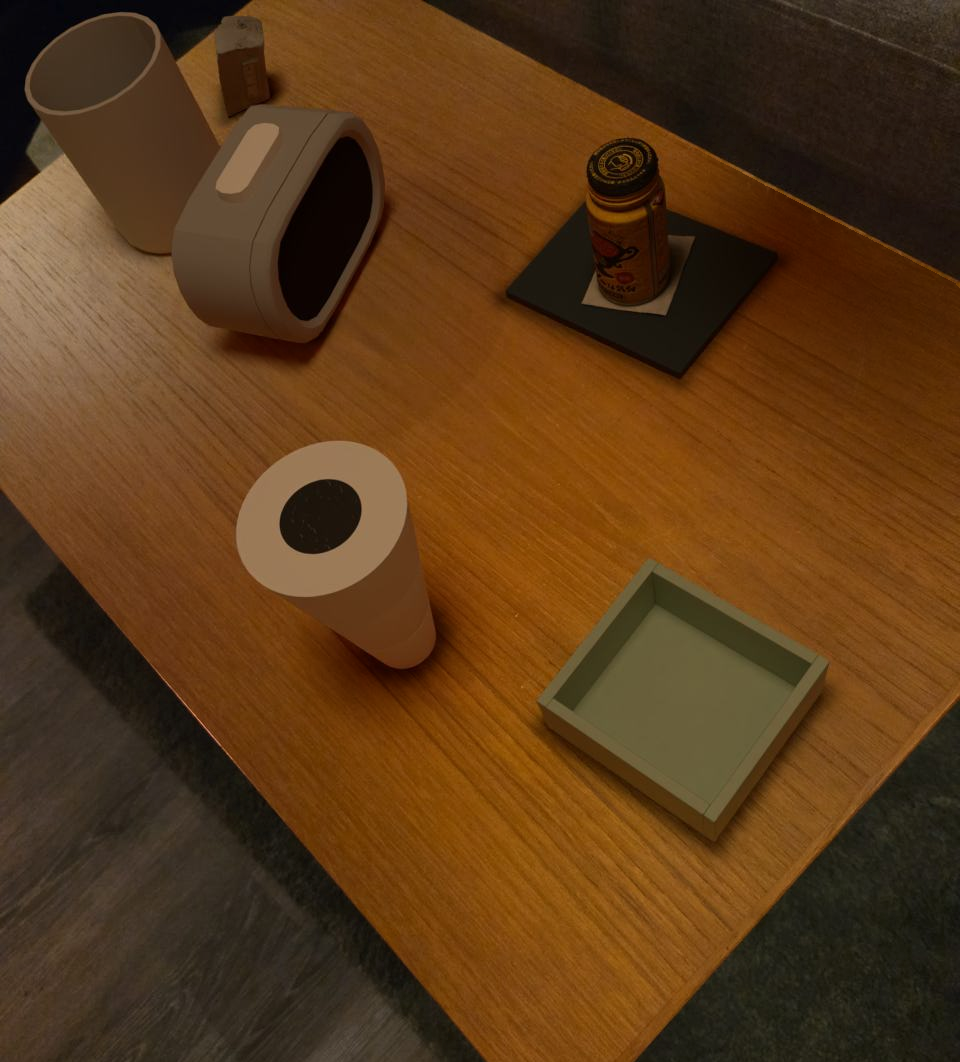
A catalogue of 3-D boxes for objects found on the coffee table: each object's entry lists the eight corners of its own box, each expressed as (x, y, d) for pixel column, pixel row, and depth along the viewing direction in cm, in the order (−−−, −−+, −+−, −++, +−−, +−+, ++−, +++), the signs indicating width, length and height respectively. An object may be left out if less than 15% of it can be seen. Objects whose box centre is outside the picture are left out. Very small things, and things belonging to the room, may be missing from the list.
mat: (777, 259, 81) (778, 252, 80) (679, 379, 78) (679, 373, 78) (601, 190, 89) (600, 183, 88) (506, 297, 86) (505, 290, 85)
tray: (821, 692, 66) (830, 660, 61) (714, 842, 63) (714, 822, 58) (653, 592, 71) (648, 556, 66) (548, 727, 69) (535, 700, 64)
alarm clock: (310, 374, 87) (246, 261, 75) (222, 357, 90) (147, 245, 78) (400, 203, 93) (354, 73, 81) (315, 192, 97) (259, 66, 85)
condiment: (581, 305, 83) (562, 189, 72) (612, 230, 85) (598, 107, 75) (665, 317, 80) (658, 199, 69) (695, 239, 83) (692, 114, 72)
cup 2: (386, 734, 71) (291, 631, 55) (312, 634, 76) (206, 513, 60) (502, 645, 72) (442, 518, 56) (422, 551, 77) (346, 410, 61)
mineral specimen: (230, 132, 102) (189, 53, 96) (226, 99, 108) (187, 22, 101) (294, 104, 101) (258, 22, 95) (287, 72, 107) (252, -8, 101)
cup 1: (147, 278, 97) (49, 138, 82) (91, 181, 105) (-7, 39, 91) (260, 211, 97) (182, 59, 83) (195, 119, 105) (114, -32, 91)
